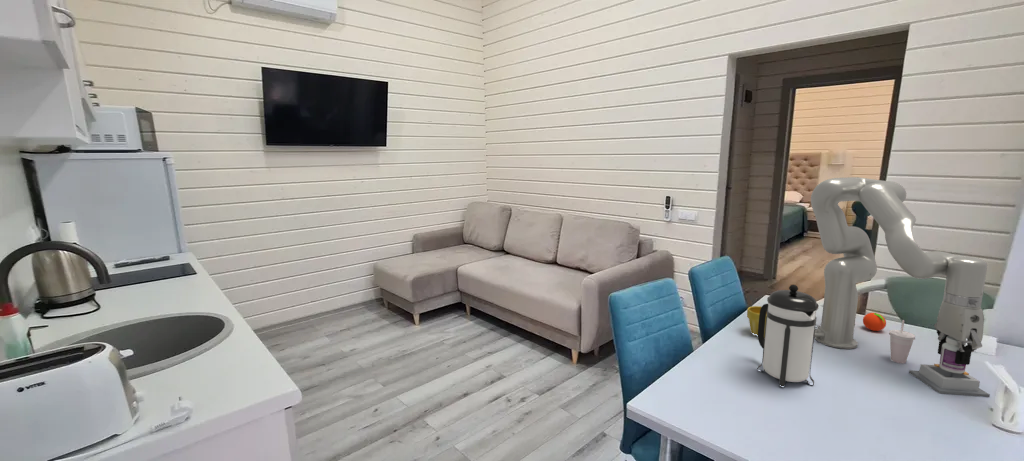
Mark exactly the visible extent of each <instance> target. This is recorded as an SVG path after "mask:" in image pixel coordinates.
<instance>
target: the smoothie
mask: <svg viewBox="0 0 1024 461" xmlns="http://www.w3.org/2000/svg"><path fill="white" fill-rule="evenodd" d="M904 325H905V320H904V319H902V320H901V325H900V326H901V327H900V329H891V330H889V333H888V334H889V336H890V337H889V339H890V340H889V342H890V344H889V345H890V361H892V362H894V363H897V364H902V365H903V364H907V360H908V358H909V355H910V351H911V349H912V345H913V343H914V341H915V340H916V335H915V334H913V333H911V332H910V331H909V332H908V331H905V330H904V328H905V327H904Z"/></svg>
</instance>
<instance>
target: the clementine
mask: <svg viewBox="0 0 1024 461" xmlns="http://www.w3.org/2000/svg"><path fill="white" fill-rule="evenodd" d="M862 324H863V325H864V327H865V328H867V329H868V330H870V331H874V332H879V331H882V330H884V329H885V327H886V326H887V321H886V318H885V317H884V316H883V315H882V314H880V313H878V312H869V313H866V314H864V316H863V318H862Z"/></svg>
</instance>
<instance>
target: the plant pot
mask: <svg viewBox="0 0 1024 461" xmlns="http://www.w3.org/2000/svg"><path fill="white" fill-rule="evenodd" d="M761 307H762V305H761V306H759V305H757V306H755V305H752V306H749V307H748V308H747V310H746V312H747V313H746V315H747V316H746V317H747V319H748V321H749V327H750V333H751V332H752V333H754V334H757V335H758V324H759V314H760V309H761ZM766 316H767V312H766ZM765 326H766V319H765ZM752 333H751V334H752ZM764 336H765V330H764Z"/></svg>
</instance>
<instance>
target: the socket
mask: <svg viewBox="0 0 1024 461" xmlns="http://www.w3.org/2000/svg"><path fill="white" fill-rule="evenodd" d="M939 364H940V363H934V364H924V363H920V365H919V370H912V369H909V370H908V373H909V374H910V375H911V376H913V377H914V378H916V379H918V380H919V381H920V382H922V383H923V384H924V385H927V386H928V387H930V388H931V389H932V390H934V391H935V392H937V393H938V394H942V395H952V396H953V395H954V396H955V395H956V396H966V397H980V396H985V397H984V398H990V396H991V394H990V393H988V392H986V391H984V390H983V389H981V388H980V385H981V384H980V383H981V381H980V380H979V379H977V378H975V377H973V376H972V375H970V373H968V372H967V371H965V372H964V373H953V372H949V371H946V370H943V369H942V368H940V366H939Z"/></svg>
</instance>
